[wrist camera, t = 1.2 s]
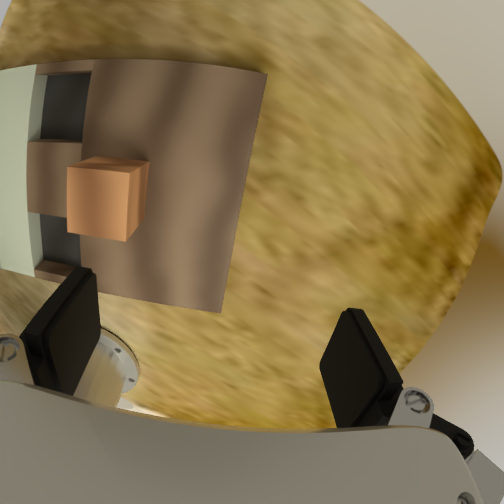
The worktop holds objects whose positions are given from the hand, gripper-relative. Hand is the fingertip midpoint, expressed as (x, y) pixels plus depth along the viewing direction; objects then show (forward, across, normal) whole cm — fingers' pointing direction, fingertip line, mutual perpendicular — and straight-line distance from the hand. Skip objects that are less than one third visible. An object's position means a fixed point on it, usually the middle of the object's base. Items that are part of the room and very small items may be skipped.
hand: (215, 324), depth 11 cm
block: (+16, +9, 0) cm, 18 cm away
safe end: (+18, +22, 0) cm, 29 cm away
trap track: (+18, +9, 0) cm, 20 cm away
